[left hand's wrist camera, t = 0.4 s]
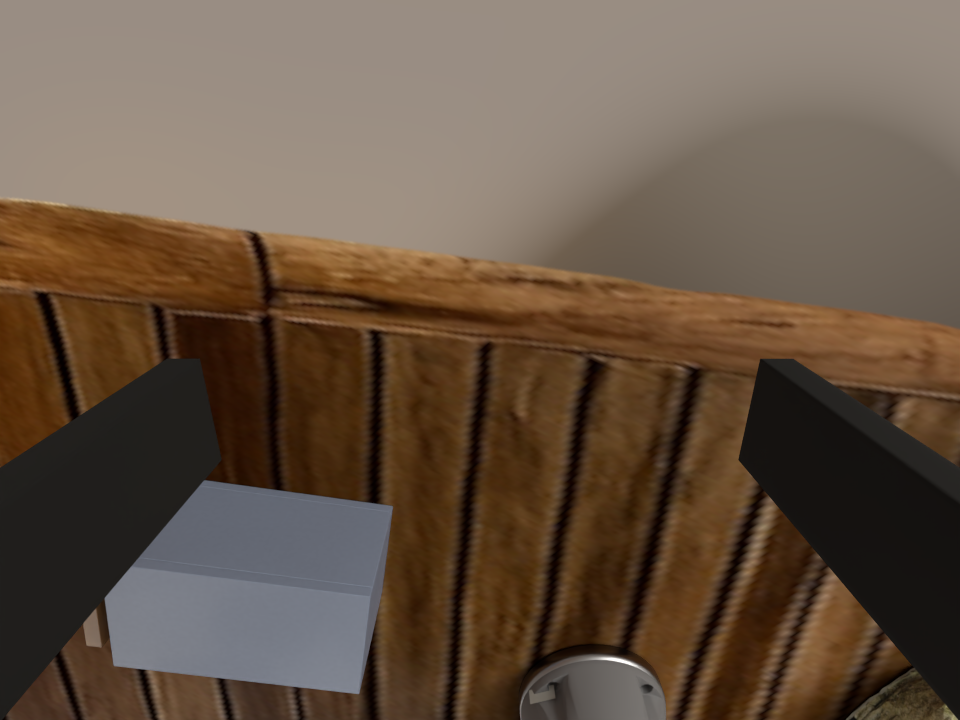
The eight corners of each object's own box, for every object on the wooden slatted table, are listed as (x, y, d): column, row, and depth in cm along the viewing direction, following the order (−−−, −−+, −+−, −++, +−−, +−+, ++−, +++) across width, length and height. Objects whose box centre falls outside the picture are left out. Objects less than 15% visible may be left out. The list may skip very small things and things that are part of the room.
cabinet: (184, 566, 49) (113, 666, 40) (179, 476, 46) (99, 562, 36) (382, 591, 51) (359, 694, 41) (392, 505, 47) (370, 597, 37)
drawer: (92, 558, 48) (16, 637, 40) (80, 475, 44) (-5, 545, 37) (341, 589, 49) (315, 672, 41) (348, 512, 46) (321, 586, 38)
